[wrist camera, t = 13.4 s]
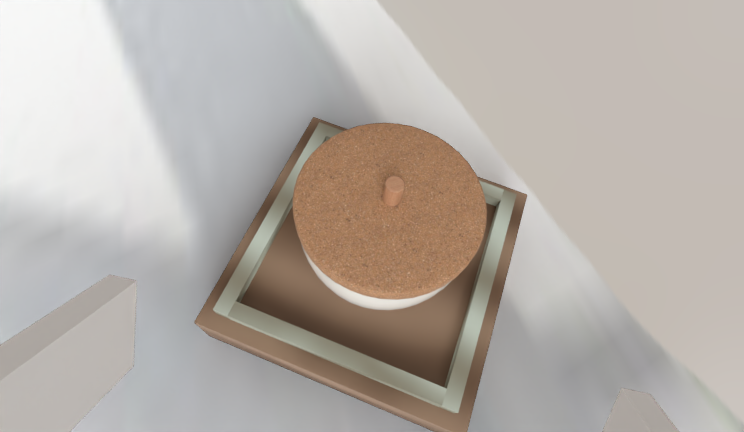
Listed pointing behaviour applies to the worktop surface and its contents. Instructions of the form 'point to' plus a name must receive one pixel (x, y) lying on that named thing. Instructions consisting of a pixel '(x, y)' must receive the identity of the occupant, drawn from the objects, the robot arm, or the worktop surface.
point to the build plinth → (364, 311)
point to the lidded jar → (388, 214)
